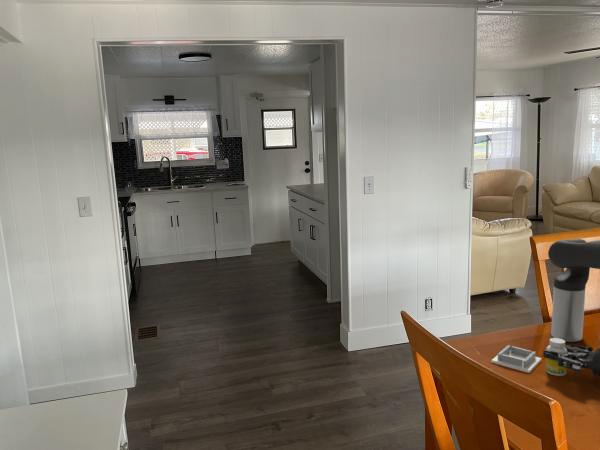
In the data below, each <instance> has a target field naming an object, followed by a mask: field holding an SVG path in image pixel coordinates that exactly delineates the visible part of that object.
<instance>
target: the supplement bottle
mask: <svg viewBox="0 0 600 450" xmlns="http://www.w3.org/2000/svg"><path fill="white" fill-rule="evenodd" d="M548 341H549V345H548V346H546V350H549V351H553V352H557V353H563V354H567V353H568V351H567V349H566V348H565V345H566V341H564V340H563V339H560V338H554V337H552V338H549V340H548ZM566 358H567V357H566ZM563 364H564V363H563ZM567 370H568V369H567V368H564V367H562V366H559V365H558V362H557V361H555V360H551V359H548V358H545V372H547V373H548V374H549V375H553V376H557V377H561V376H565V375H566V374H567Z"/></svg>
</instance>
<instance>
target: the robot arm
mask: <svg viewBox="0 0 600 450" xmlns="http://www.w3.org/2000/svg"><path fill="white" fill-rule="evenodd" d="M547 254H548V255H547V256H548V259H549V260H550V262H551V263H552V264H553V265H554V266H555V267H557V268H560V269H565V270H564V271H563V272H562V273H560V274H559V275H556V276H555V277H554V279H553V295H552V313H551V316H552V317H551V329H550V330H551V331H550V332H551V333H550V335H551V337H552V338H560V339H563V340H564V341H565V342H569V345H568V344H565V348H566V349H567V351H568V353H567V354H563V353H557V352H553V351H549V350H547V349H544V350H543V351H542V352H543V353H542V356H543V358H544V359H546V358H548V359H551V360H555V361H557V362H558V365H559V366H562V367H564V368H567V370H571V371H574V372H576V373H581V371H582V369H587V370H588V369H589V370H591V373H592V375H593V376H594V377H598V378H600V348H599V347H598V348H596V349H595V351H594V347H593V346H588V345H580V344H575V342H580V341H582V340H583V333H584V332H583V330H584V320H585V319H584V316H585V305H586V304H585V302H586V300H585V299H586V286H587V284H588V281H589V277H590V271H591V269H594V270H595V269H596V270H600V239H598V240H592V241H586V240H584V239H582V238H571V239H560V240H557V241H555V242H553V243H552V244H550V246H549V247H548V253H547ZM571 342H572V343H571ZM573 342H574V343H573ZM566 357H567V358H566ZM563 363H564V364H563Z"/></svg>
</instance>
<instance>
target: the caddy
mask: <svg viewBox="0 0 600 450" xmlns="http://www.w3.org/2000/svg"><path fill="white" fill-rule="evenodd" d="M536 353H537V351H532V350H530V349H529V350H528V349H524V348H521V347H518V346H513V345H512V346H511V345H509V344H507V345H506V346H505V347H504V348H503V349H501V351H499V352H498V353H497V355H496V356H494V358H492V359H491V360H490V361H491V363H492V364H495V365H499V366H503V367H507V368H510V369H514V370H517V371H519V372H520V371H521V372H524V373H529V374H530V373H531V372H532V371H533V370H534V369H535V368H536V367H537V366H538V365H539V364H540V363H541V362H542V359H543V358H542V357H539V356H536V355H537V354H536Z"/></svg>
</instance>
